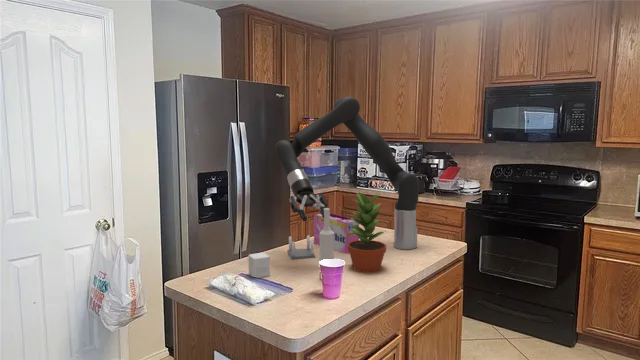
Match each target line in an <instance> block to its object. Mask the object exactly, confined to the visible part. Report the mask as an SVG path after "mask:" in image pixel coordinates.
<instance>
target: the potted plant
mask: <svg viewBox="0 0 640 360" xmlns="http://www.w3.org/2000/svg"><path fill="white" fill-rule="evenodd" d="M355 193H356V197H357V199H358V200H356V199H354V202H355V204H356V205H357V206H358V208H356V209H357V212H354V211H352V214H353V216H355V217H356V218H354V217H349V218H350V219H352V220H353V221H355V222H357V223H359V227H358V226H356V225H350V226H351V227H353V228H355V229H356V230H352V229H351V230H352V232H353V233H355V234H356V235H358V236H359V237H358V238H359V240H357V241H352V242H350V243H349V244H348V251H349V252H350V253H349V257H350V259H351V263H352V268H353V269H354V271H358V272H361V273H374V272H377V271H380V269H381V266H382V263H383V260H384V256H385V253H386V252H387V245H386V243H384V242H381V241H379V240H378V241H377V240H374V239H375V238H377V237H379V236H380V235H383V234H384V233H385V232H386V230H384V231H378V232H376V233H375V232H374V231H375V229H376V225H378V223H379V221H380V220H379V219H376V218H377V217H378V215H379V214H380V211H382V210H383V208H381V207H380V206H381V204H382V202H381V201H380V203H375V204H373V203H374V202H375V200H376V199H377V198H378V197H379V195H380V192H379V193H377V194H374V195H373V196H372V197H371V198H370V199H369V198H368V196H367V195H366V194H364V193H362V192H360V191H358V192H357V191H356V192H355ZM360 226H362V227H360Z"/></svg>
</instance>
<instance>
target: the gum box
mask: <svg viewBox="0 0 640 360" xmlns="http://www.w3.org/2000/svg"><path fill="white" fill-rule="evenodd" d="M313 216H314V217H313V241H314V244H317V245H320V232H321V231H322V230H323V228H324V219H323V217H322V215H321V213H318V214H315V213H313ZM350 218H351V217H348V216H344V215H339V214H335V213H331V212H330V228H331V230H332V231H333V232H334V251H337V252H340V253H343V254H350V252H349V251H348V244H349V243H350V242H352V241H357V240H360V239H359V238H358V237H359V236H358V235H356V234H355V233H353V232H352V230H356V229H355V228H353V227H351V226H350V225H356V226H358V227H360V224H359V223H357V222H355V221H353V220H352V219H350ZM351 229H352V230H351Z"/></svg>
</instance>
